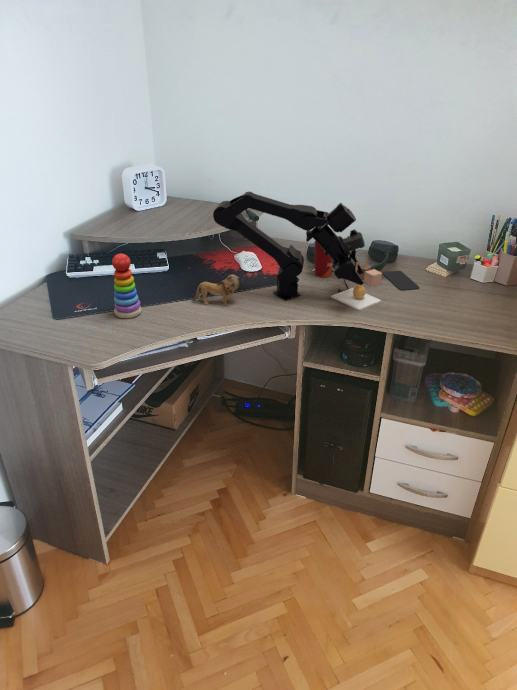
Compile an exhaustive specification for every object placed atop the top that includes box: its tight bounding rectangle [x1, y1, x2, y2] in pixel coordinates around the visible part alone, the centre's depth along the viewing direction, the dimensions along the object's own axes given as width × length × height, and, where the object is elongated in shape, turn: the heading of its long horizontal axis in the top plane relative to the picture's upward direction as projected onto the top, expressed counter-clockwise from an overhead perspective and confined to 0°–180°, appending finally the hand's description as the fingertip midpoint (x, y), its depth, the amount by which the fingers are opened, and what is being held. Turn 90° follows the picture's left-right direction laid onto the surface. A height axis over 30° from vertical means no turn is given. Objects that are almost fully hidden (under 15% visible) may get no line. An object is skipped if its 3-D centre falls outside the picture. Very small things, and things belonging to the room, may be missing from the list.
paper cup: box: [314, 240, 334, 279], centre depth 186 cm, size 8×8×14 cm
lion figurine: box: [191, 274, 240, 306], centre depth 168 cm, size 15×5×9 cm, turn 95°
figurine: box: [353, 261, 367, 298], centre depth 169 cm, size 8×6×12 cm
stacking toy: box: [111, 253, 142, 319], centre depth 158 cm, size 8×8×19 cm
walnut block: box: [358, 263, 372, 281], centre depth 187 cm, size 4×4×4 cm
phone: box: [381, 270, 420, 292], centre depth 185 cm, size 7×1×15 cm
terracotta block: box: [363, 268, 383, 287], centre depth 183 cm, size 4×4×4 cm
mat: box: [330, 287, 382, 311], centre depth 172 cm, size 12×10×1 cm
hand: (362, 278), depth 169 cm, fingers closed on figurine, 8 cm apart
